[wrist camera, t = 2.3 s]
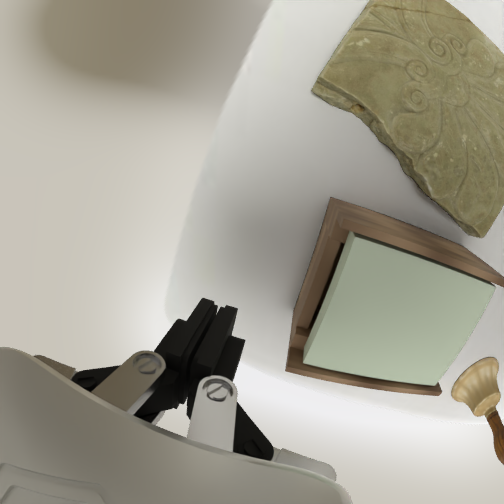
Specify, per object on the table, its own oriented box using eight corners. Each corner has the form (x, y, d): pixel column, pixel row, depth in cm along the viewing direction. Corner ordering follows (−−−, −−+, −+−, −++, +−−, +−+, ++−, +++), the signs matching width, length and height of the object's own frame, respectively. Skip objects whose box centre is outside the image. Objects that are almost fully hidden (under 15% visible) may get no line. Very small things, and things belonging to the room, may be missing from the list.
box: (462, 245, 20) (510, 282, 12) (415, 340, 24) (438, 395, 16) (330, 197, 21) (343, 219, 13) (293, 310, 25) (285, 371, 17)
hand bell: (440, 393, 25) (469, 489, 11) (483, 349, 22) (533, 441, 8) (466, 403, 25) (493, 484, 11) (504, 365, 22) (545, 442, 7)
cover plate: (484, 277, 14) (496, 287, 13) (429, 371, 18) (434, 385, 16) (350, 228, 16) (355, 236, 14) (304, 347, 19) (302, 363, 17)
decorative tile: (388, -21, 12) (396, -38, 9) (529, 110, 13) (548, 108, 9) (296, 102, 19) (294, 92, 16) (464, 241, 20) (482, 253, 17)
